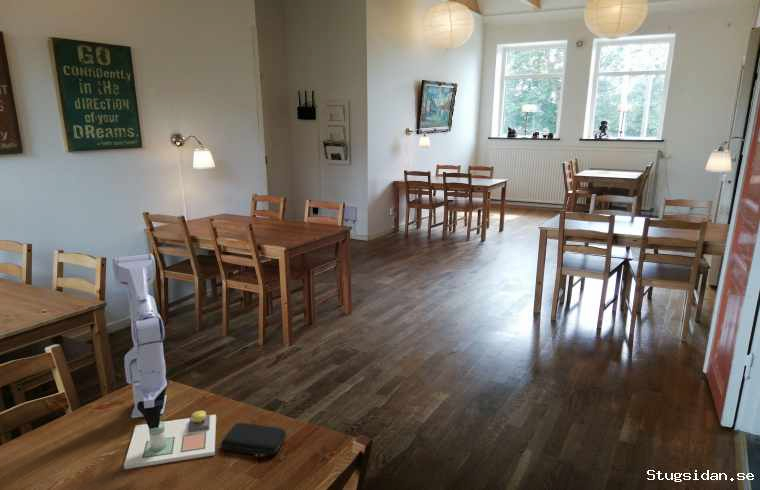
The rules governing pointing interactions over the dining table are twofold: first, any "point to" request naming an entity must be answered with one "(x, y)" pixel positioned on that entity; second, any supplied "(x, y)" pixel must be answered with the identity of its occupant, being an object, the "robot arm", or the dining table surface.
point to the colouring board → (173, 442)
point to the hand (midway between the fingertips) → (156, 417)
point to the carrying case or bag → (254, 439)
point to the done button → (198, 416)
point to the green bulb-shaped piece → (158, 437)
